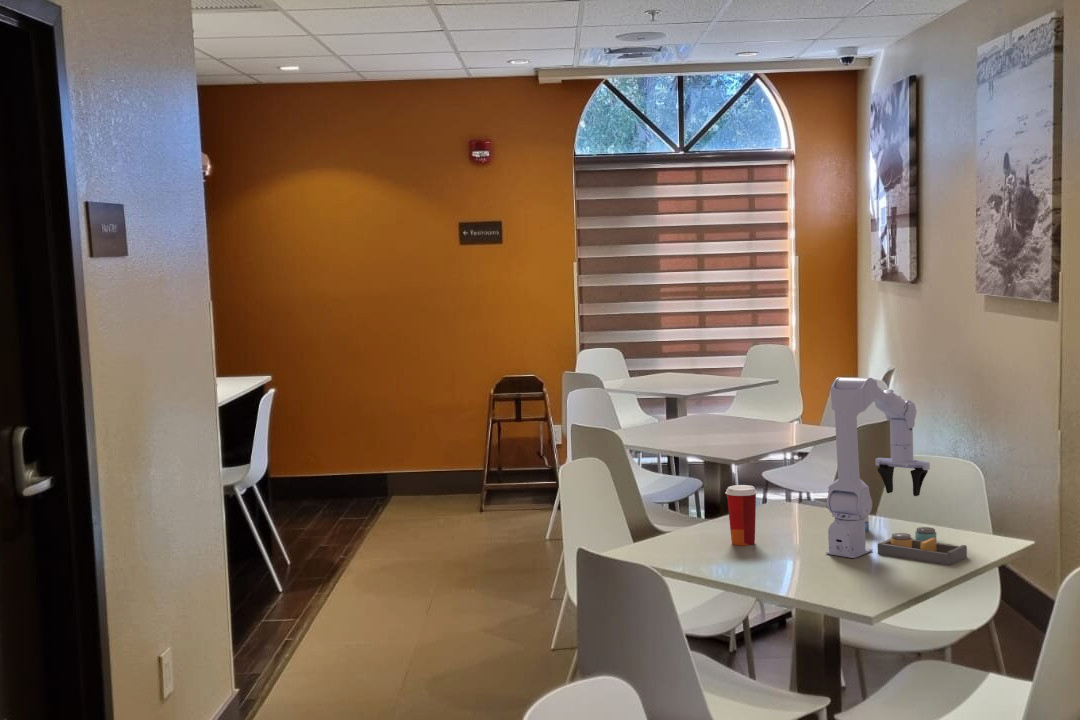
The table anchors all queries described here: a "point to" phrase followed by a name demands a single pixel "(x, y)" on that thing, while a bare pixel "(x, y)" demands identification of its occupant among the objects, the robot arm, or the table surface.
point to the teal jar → (925, 533)
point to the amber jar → (901, 540)
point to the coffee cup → (742, 514)
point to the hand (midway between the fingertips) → (903, 494)
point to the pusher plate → (929, 545)
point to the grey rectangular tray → (925, 552)
